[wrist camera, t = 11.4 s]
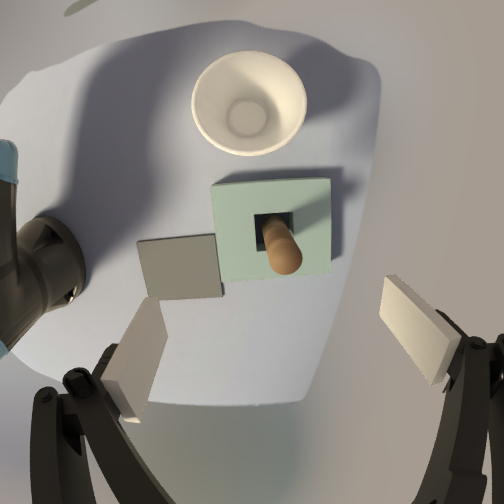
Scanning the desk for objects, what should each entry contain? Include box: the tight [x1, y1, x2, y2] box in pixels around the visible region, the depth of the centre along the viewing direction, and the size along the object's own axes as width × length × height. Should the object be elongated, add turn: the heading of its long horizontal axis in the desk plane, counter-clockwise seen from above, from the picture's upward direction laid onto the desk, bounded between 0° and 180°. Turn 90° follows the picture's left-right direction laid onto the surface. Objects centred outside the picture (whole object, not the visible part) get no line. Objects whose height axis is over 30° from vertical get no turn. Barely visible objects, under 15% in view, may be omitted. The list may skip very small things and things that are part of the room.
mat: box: [136, 234, 223, 300], centre depth 37 cm, size 11×9×1 cm
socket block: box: [210, 177, 331, 282], centre depth 34 cm, size 14×12×3 cm
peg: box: [261, 215, 303, 275], centre depth 30 cm, size 3×3×12 cm
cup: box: [191, 51, 307, 156], centre depth 26 cm, size 10×10×11 cm
